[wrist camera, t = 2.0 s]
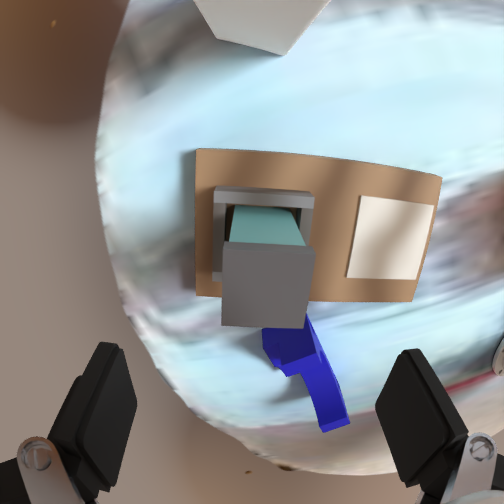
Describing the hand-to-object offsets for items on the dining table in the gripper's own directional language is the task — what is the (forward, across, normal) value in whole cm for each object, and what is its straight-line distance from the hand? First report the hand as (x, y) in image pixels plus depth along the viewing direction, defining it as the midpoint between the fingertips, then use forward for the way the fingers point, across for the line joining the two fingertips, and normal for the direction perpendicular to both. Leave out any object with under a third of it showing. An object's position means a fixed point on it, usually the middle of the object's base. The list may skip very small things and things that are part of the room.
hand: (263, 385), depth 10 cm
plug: (+15, -1, 0) cm, 15 cm away
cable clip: (+17, -7, +15) cm, 24 cm away
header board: (+17, -6, 0) cm, 18 cm away
